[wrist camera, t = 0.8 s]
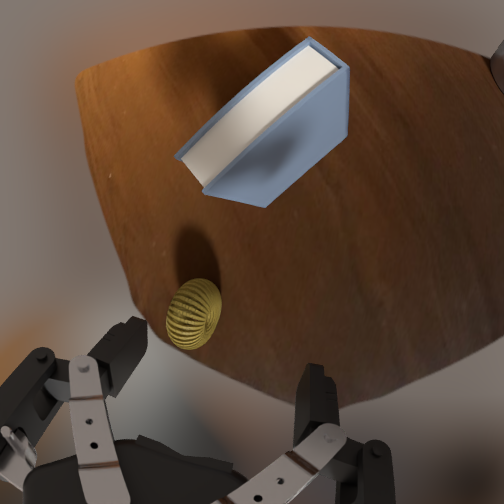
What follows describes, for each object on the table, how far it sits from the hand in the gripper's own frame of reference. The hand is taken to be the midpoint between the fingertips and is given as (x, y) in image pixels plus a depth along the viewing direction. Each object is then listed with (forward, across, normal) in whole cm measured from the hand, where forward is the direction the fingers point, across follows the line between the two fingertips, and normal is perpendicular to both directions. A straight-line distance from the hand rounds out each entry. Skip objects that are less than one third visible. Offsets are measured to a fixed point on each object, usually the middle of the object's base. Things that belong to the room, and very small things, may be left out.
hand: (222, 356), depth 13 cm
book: (+22, -2, -8) cm, 23 cm away
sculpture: (+19, +4, +10) cm, 22 cm away
